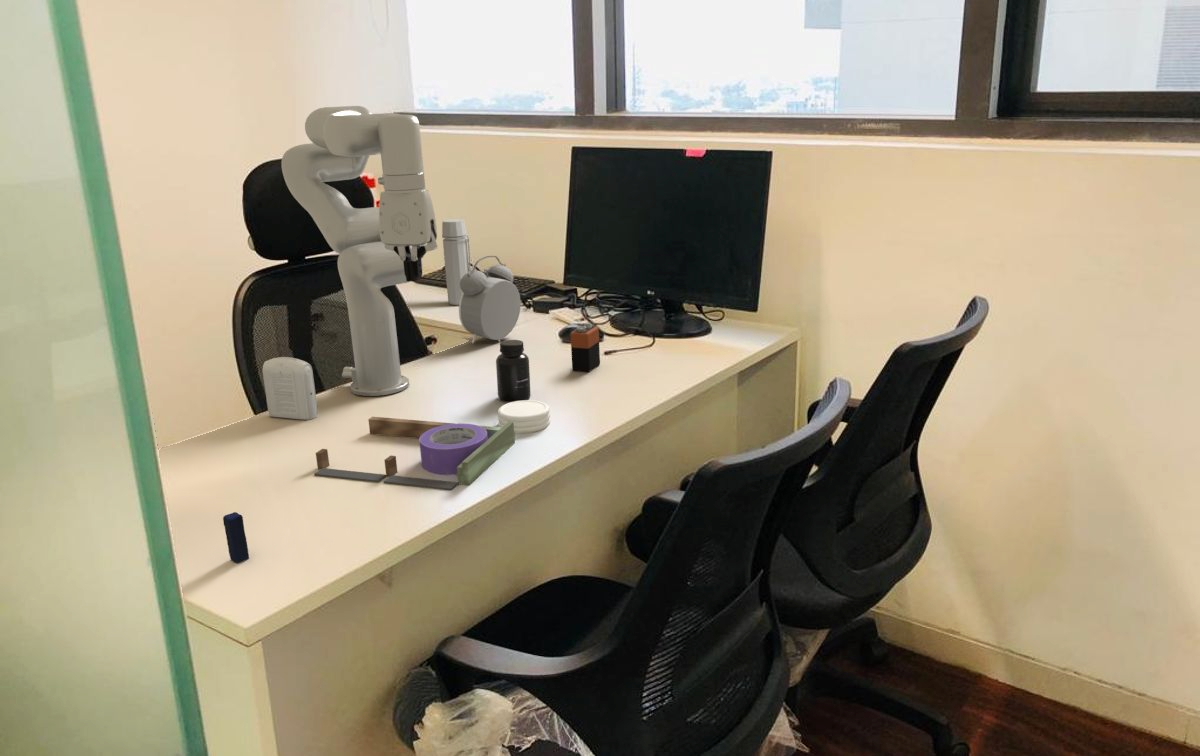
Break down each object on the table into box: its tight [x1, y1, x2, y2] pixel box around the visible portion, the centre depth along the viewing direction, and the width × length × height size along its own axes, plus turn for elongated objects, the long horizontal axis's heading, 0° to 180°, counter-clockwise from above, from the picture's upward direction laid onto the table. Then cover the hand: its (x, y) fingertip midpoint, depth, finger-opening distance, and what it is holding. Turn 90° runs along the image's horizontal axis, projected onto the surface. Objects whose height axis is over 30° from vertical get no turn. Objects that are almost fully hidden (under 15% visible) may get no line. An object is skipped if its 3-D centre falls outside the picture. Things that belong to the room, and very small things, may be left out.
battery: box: [570, 322, 601, 373], centre depth 209 cm, size 4×7×10 cm, turn 157°
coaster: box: [497, 399, 551, 434], centre depth 177 cm, size 10×10×4 cm
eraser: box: [222, 511, 250, 564], centre depth 129 cm, size 2×2×7 cm
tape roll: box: [418, 422, 488, 476], centre depth 160 cm, size 12×12×5 cm
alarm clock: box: [458, 255, 522, 344], centre depth 233 cm, size 16×9×22 cm, turn 144°
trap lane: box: [315, 416, 516, 486], centre depth 163 cm, size 29×19×4 cm, turn 72°
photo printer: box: [262, 356, 319, 421], centre depth 184 cm, size 10×4×12 cm, turn 72°
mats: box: [314, 467, 459, 491], centre depth 154 cm, size 26×2×1 cm, turn 72°
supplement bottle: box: [495, 339, 531, 403], centre depth 190 cm, size 7×7×12 cm
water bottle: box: [441, 218, 476, 307], centre depth 274 cm, size 9×8×25 cm
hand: (414, 280), depth 177 cm, fingers closed
